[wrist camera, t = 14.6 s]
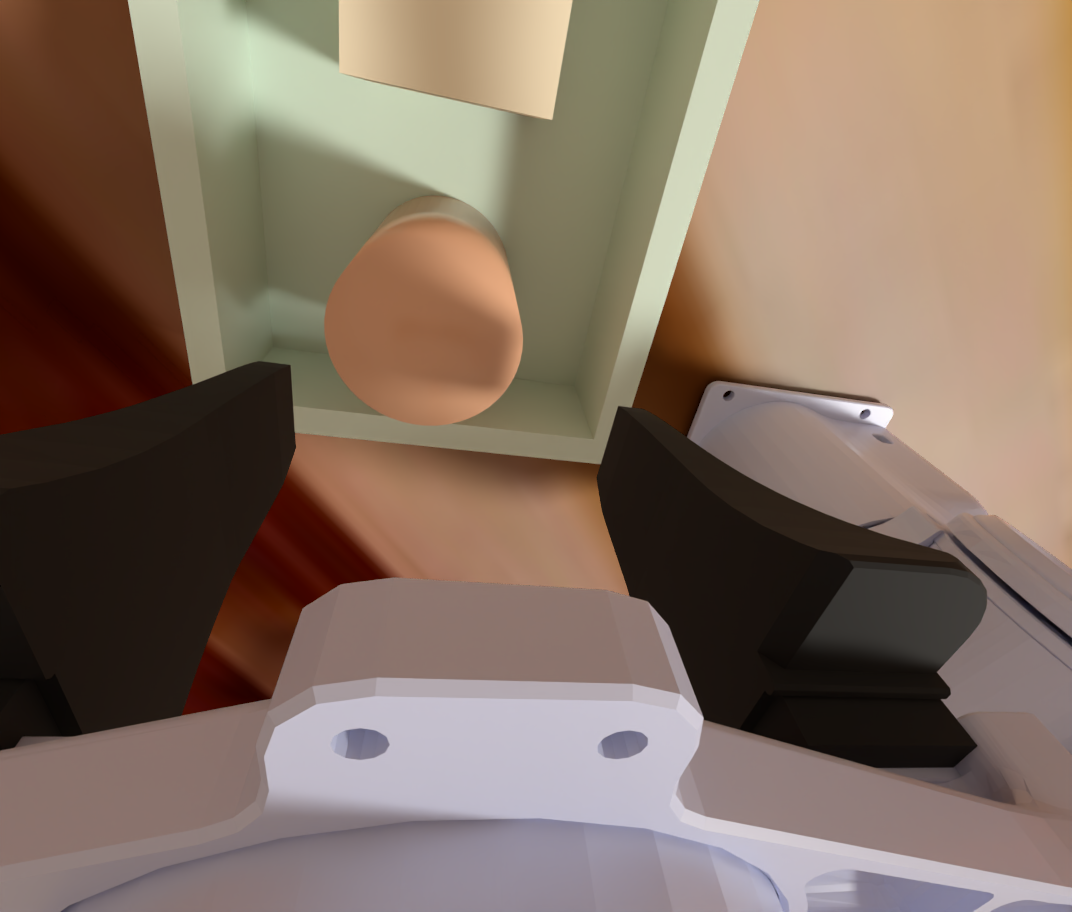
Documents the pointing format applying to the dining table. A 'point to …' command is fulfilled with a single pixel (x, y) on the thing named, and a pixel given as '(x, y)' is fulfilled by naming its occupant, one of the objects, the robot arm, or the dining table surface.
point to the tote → (433, 169)
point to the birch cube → (460, 49)
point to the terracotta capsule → (427, 315)
